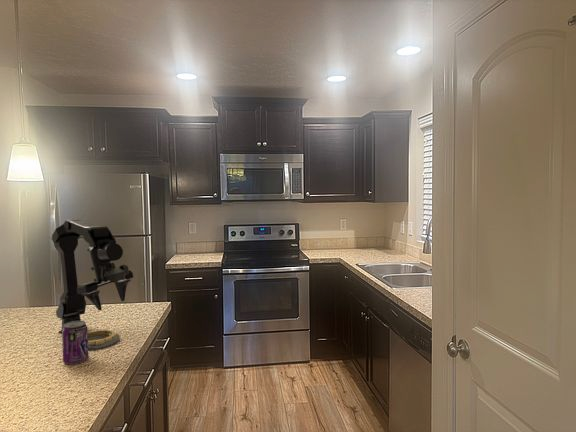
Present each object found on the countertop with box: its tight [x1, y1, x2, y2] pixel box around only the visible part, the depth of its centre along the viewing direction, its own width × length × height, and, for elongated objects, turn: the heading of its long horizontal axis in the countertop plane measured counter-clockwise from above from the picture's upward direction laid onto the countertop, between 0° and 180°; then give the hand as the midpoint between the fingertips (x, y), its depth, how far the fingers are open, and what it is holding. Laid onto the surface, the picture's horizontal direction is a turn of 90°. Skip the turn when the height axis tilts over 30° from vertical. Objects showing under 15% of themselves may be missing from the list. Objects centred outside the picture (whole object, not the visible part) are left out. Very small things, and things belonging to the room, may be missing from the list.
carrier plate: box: [88, 329, 120, 352], centre depth 138 cm, size 15×15×2 cm
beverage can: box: [61, 320, 90, 365], centre depth 122 cm, size 7×7×12 cm
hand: (112, 305), depth 135 cm, fingers open, 9 cm apart
